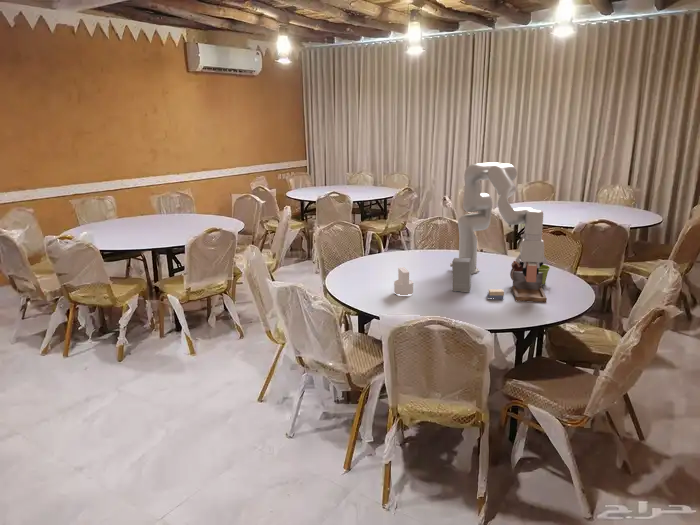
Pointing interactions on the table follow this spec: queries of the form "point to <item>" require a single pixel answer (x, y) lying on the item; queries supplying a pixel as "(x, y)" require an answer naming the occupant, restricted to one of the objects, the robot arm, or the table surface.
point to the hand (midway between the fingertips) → (530, 275)
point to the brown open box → (528, 288)
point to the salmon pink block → (531, 272)
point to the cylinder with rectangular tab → (403, 283)
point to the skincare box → (461, 274)
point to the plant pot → (544, 272)
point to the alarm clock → (515, 268)
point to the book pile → (495, 293)
